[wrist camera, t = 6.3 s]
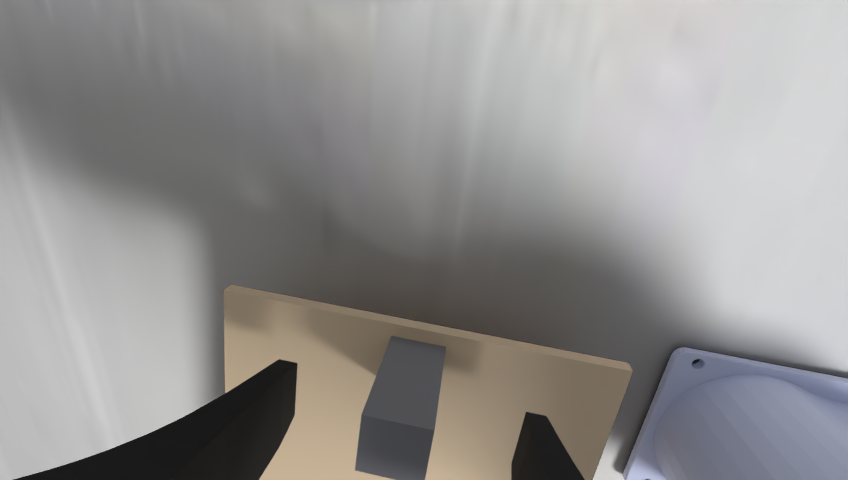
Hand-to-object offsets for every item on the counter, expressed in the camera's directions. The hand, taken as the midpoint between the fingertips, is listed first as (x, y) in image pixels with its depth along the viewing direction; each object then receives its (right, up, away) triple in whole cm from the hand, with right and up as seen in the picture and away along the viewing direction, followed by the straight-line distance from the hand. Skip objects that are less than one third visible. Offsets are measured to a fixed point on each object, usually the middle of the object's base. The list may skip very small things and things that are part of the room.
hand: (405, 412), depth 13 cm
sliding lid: (-1, -5, +5) cm, 7 cm away
